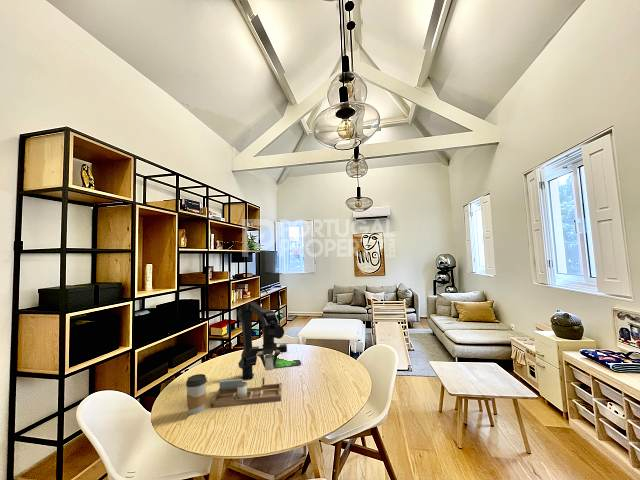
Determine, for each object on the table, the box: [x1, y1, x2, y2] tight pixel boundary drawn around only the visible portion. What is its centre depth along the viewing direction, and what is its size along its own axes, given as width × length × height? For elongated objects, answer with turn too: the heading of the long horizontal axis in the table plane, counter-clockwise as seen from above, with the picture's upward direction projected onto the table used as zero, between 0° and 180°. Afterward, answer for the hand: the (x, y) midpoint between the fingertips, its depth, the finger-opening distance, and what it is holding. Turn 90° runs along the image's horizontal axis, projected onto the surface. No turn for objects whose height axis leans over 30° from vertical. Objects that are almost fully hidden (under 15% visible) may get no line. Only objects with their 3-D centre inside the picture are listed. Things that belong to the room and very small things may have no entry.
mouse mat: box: [273, 355, 302, 369], centre depth 176 cm, size 27×22×1 cm
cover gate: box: [219, 378, 243, 389], centre depth 133 cm, size 2×11×4 cm, turn 97°
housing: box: [210, 377, 283, 408], centre depth 126 cm, size 16×31×6 cm, turn 97°
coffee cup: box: [185, 373, 207, 416], centre depth 115 cm, size 8×8×15 cm
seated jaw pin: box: [237, 381, 248, 399], centre depth 124 cm, size 4×4×7 cm
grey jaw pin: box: [264, 353, 275, 372], centre depth 135 cm, size 4×4×7 cm
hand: (269, 366), depth 135 cm, fingers closed on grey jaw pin, 4 cm apart
